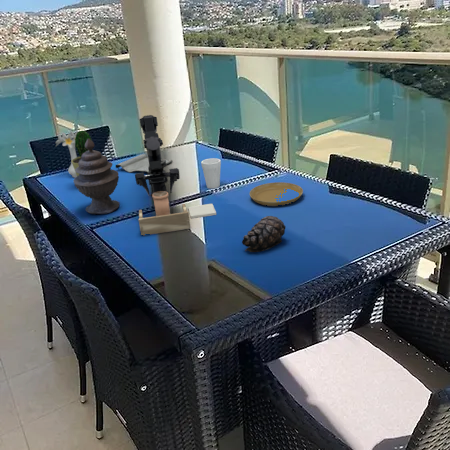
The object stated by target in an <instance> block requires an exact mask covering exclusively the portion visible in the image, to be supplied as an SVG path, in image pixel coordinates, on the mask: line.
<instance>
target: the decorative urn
mask: <svg viewBox="0 0 450 450" xmlns="http://www.w3.org/2000/svg"><path fill="white" fill-rule="evenodd" d="M85 148H86V149H88V151H86V152H85V153H83V154H82V156H81V158H82V159H81V160H80V161H79V163H78V165H79V167H77V168H76V169H75V172H76V173H79V175H78V176H77V177H74V179H73V184H74V187H76V189H77V190H78V192H79V193H81V194H82V195H83V196H85V197H87V198H90V199H91V203H90V204H89V205H87V206H86V208H85V211H86V213H89V214H91V215H96V214H97V215H106V214H110V213H113V212H115V211H116V210H117V209H118V208H119V207H120V203H121V202H120V201H119V200H116V199H115V200H114V199H112V198H111V195H112V194H113V193H114V192H115V190H116V188H117V187H118V182H119V178H120V176H119V171H118V170H115V169H112V168H113V167H112V166H113V162H111V161H108V158H107V156H105V155H103V154H102V153H101V152H100V151H98V150H94V148H95V142H94V141H93V140H92V139H91V140H90V139H89V138H88V139H87V141H86V143H85Z"/></svg>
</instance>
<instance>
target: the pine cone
mask: <svg viewBox="0 0 450 450" xmlns="http://www.w3.org/2000/svg"><path fill="white" fill-rule="evenodd" d="M285 231H286V225H285V223H284V221H282V219H279V217H277V216H273V215H266V216H265V217H263V218H261V219H260V220H259V221H258V222H257V223H256V224H254V225H253V226H252V228H251V230H249V231H247V234H246V235H245V234H244V235H243V237H242V241H241V244H242V245H243V246H245V247H246V248H245V250H244V251H245V252H250V253H258V252H260V253H261V252H263V251H267V250H269V249H271V248H274V247H275V246H278V245H279V244H281V243H282V242H283V240H282V237H283V236H284V235H285V233H286V232H285Z"/></svg>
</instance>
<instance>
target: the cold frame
mask: <svg viewBox="0 0 450 450" xmlns="http://www.w3.org/2000/svg"><path fill="white" fill-rule="evenodd" d="M181 205H182V211H181V212H176V213H170V214H168V215H161V216H156V215H155V216H148V217H143V216H144V215H143V210H142V209H139V210H138V217H139V218H138V223H139V224H138V225H139V231H140V236H141V235H143V236H146V235H145V234H150V235H156V234H163V233H168V232H169V233H170V232H175V231H183V230H189V229H191V222H190V221H191V220H190V213H189V211H188V210H187V209H188V208H187V207H186V203H181Z"/></svg>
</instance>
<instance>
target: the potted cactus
mask: <svg viewBox="0 0 450 450" xmlns="http://www.w3.org/2000/svg"><path fill="white" fill-rule="evenodd" d="M76 132H77V131H76ZM86 132H87V131H86V130H80V129H79V130H78V132H77V134H76V135H75V134H74V135H75V136H76V138H75V144H74V145H75V149H76V151H77V154H78V156H77V158H74V159H73V160H72V161H71V162H72V164H73V167H74V169H76V168H77V167H79V165H78V163H79V161H80V160H81V159H82V158H81V156H82V154H83V153H85V152H86V151H88V149H86V148H85V143H86V141H87V139H88V138H89V139H90V140H91V141H92V138H91V137H92V136H91V135H90V132H89V133H88V132H87V133H86ZM76 175H77V176H78V175H79V173H76Z"/></svg>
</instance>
